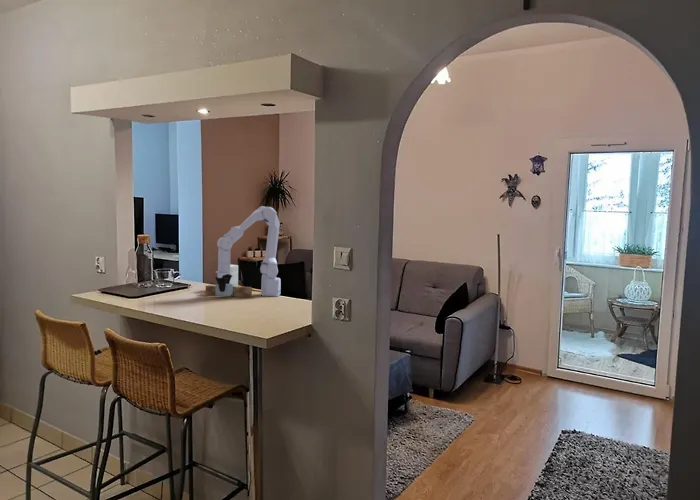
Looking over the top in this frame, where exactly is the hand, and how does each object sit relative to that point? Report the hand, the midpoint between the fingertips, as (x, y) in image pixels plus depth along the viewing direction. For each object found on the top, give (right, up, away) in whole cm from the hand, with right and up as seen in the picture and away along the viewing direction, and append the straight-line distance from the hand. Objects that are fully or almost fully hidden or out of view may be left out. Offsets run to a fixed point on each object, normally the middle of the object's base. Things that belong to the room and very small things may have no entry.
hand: (223, 290), depth 258 cm
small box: (-2, -2, +19) cm, 19 cm away
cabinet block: (0, -2, 0) cm, 2 cm away
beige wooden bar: (+1, -3, +5) cm, 6 cm away
